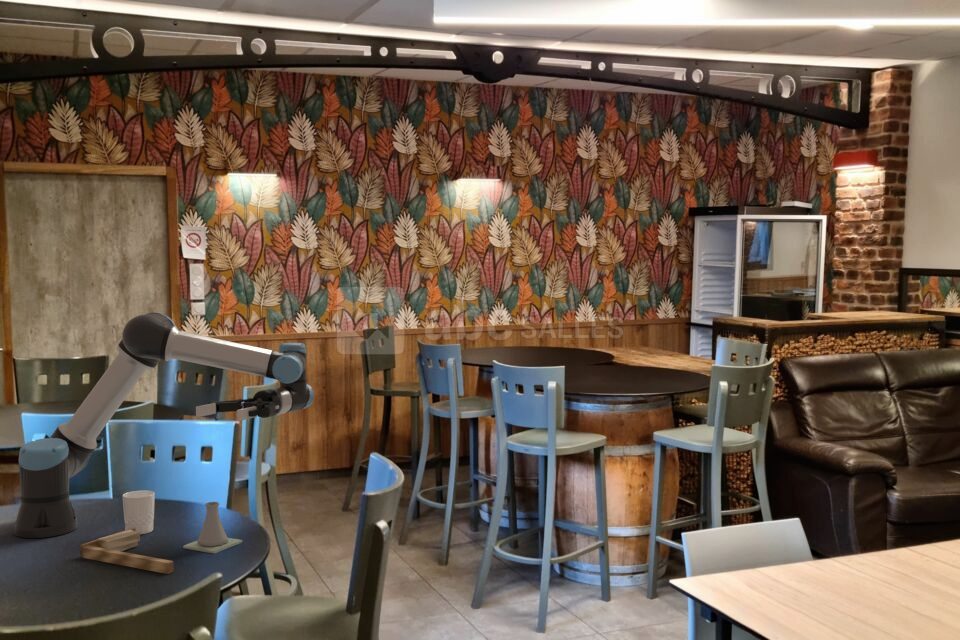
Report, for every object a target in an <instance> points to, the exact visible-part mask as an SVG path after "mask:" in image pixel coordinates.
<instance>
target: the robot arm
mask: <svg viewBox="0 0 960 640" xmlns="http://www.w3.org/2000/svg"><path fill="white" fill-rule="evenodd" d="M117 347H118V353H117V356H116V357H115V358H114V360H112V362H111V363H110V365H109V366H108V367H107V369H106V370H105V372H104V373H103V374H102V376H101V377H100V379H98V381H97V382H96V384H95V385H94V386H93V388H91V389H92V390H90V392H89V393H88V394H87V396H86V398H85V399H84V400H83V401H82V403H81V404H80V405H79V407H78V408H77V410H76V411H75V412H74V414H73V415H72V416H71V418H70V420H69V421H68V422H63V423H60V424H59V425H57V427H56V429H55V430H54V431H53V433H52V434H51V436H50V437H46V438H39V439H35V440H31V441H28V442H26V443H25V444H23V445H21V447H20V449H19V453H18V454H19V455H18V465H19V466H18V467H19V470H18V471H19V490H20V491H19V492H20V494H19V495H20V505H19V508H18V511H17V515H16V519H15V522H14V525H13V535H14V536H15V537H19V538H24V539H42V538H50V537H56V536H61V535H65V534H68V533H72V532H73V531H74V530H77V528H78V518H77V515H76V512H75V510H74V507H73V505H72V502H71V499H70V479H71V478H72V477H75V476H76V475H78V474H79V473H81V472H82V471H83V470H84V469H85V468H86V466H87V464H88V462H89V460H90V457H91V455H92V454H93V452H94V451H95V450H96V448H97V446H98V443H97V438H98V437H99V435H100V434H101V433H102V431H103V429H104V428H105V427H106V425H107V424H108V423H109V421H110V420H111V419H112V418H113V416H114V415H115V413H116V412H117V411H118V409H119V408H120V407H121V405H122V404H123V402H124V401H125V400H126V398H127V397H128V396H129V394H130V392H131V391H132V390H133V389H134V387H135V386H136V384H137V383H138V382H139V381H140V379H141V378H142V376H143V375H144V373H145V372H146V371H147V370H152V369H155V368H156V367H157V365H158V364H159V363H160V361H162V362H163V361H164V362H169V361H171V360H177V361H183V362H188V363H194V364H198V365H203V366H209V367H214V368H218V369H224V370H227V371H228V370H229V371H233V372H239V373H244V374H249V375H253V376H259V377H263V378H268V379H271V380H277V381H278V382H279V386H277V387H273V388H269V389H263V390H259V391H257V392H256V393H255V394H254V395H253V397H248V398H247V399H246V398H245V399H244V398H237V399H231V400H221V401H220V400H219V401H209V402H207V404H201V405H197V406H195V417H196V418H201V417H206V416H209V415H210V416H215V415H216V414H217V413H229V412H230V413H231V412H236V415H237V416H236V419H237V421H238V422H241V421H245V420H250V419H254V418H257V417H259V418H262V419H266V418H271V417H275V416H276V417H277V418H278V417H280V416H281V415H283V414H284V415H285V414H287V413H292V412H299V411H302V410H304V409H308V408H309V407H310V406H311V405H313V402H314V399H315V392H314V390H313V387H312V386H311V385H310V384H308V383H307V350H306V349H307V348H306V345H305V344H304V343H301V342H284V343H281V344H280V345H279V346H278V351H277V350H273V349H267V348H263V347H257V346H255V345H254V346H253V345H248V344H243V343H239V342H234V341H228V340H225V339H218V338H213V337H210V336H205V335H201V334H197V333H192V332H186V331H180V330H179V328H178V327H177V326H176V323H175V322H174V320H172V318H171V317H169V316H168V315H165V314H163V313H159V312H154V311H152V312H147V313H145V314H140V315H137V316H134V317H132V318H131V319H130V320H128V322H127V323H126V324H125V325H124V327H123V330H122V338H121V340H120V341H119V343H118V344H117Z"/></svg>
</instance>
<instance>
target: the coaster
mask: <svg viewBox="0 0 960 640" xmlns="http://www.w3.org/2000/svg"><path fill="white" fill-rule="evenodd" d="M227 538H228V540H229V541H228V542H226V543H224V544H222V545H216V546H203V545H200V544H198V543H197V541H198V539H197V540H195V541H192V542H189V543H187V544H185V545H183V547H182V548H183V549H186V550H192V551H197V552H198V551H199V552H204V553H208V554H209V553H210V554H217V553H219V552H222V551H224V550H228V549H229V548H231V547H234V546H237V545H240V544H242V543H243V539H239V538H231V537H227Z"/></svg>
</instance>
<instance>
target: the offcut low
mask: <svg viewBox="0 0 960 640" xmlns="http://www.w3.org/2000/svg"><path fill="white" fill-rule="evenodd" d="M138 542H139V541H137V542H133V543H130V544H126V545H123V546H119V547H116V548H112V549H110V550H115V551H121V552H125V551H127V550H129V549H131V548H134V547H138ZM99 548H100V547H99Z"/></svg>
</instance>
